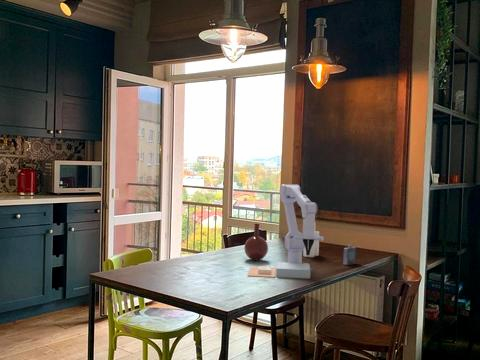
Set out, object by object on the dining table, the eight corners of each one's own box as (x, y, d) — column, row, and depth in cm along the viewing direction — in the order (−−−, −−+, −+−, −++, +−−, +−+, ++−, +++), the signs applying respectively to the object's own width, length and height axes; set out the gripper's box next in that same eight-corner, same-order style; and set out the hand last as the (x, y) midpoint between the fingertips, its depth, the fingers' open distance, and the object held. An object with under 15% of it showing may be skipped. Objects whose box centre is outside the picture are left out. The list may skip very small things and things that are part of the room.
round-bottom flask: (252, 256, 275) (253, 222, 274) (272, 259, 268) (273, 224, 267) (239, 260, 264) (240, 224, 263) (259, 263, 257) (260, 226, 256)
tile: (271, 266, 239) (270, 270, 239) (258, 265, 239) (258, 269, 239) (270, 270, 231) (270, 274, 231) (258, 269, 231) (257, 273, 232)
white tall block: (311, 257, 277) (312, 223, 276) (300, 256, 281) (301, 222, 280) (319, 254, 287) (321, 221, 286) (308, 253, 291) (310, 220, 290)
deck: (276, 269, 242) (277, 262, 242) (308, 271, 241) (309, 263, 241) (276, 276, 227) (276, 268, 227) (310, 278, 226) (310, 270, 226)
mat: (250, 268, 245) (250, 267, 245) (275, 269, 244) (275, 268, 244) (247, 276, 227) (247, 275, 227) (275, 277, 226) (275, 276, 226)
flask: (345, 265, 258) (346, 245, 258) (341, 264, 260) (342, 244, 260) (356, 263, 264) (357, 244, 264) (352, 262, 266) (352, 243, 266)
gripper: (294, 227, 231) (293, 255, 232) (324, 228, 230) (323, 257, 231) (293, 225, 238) (292, 252, 239) (323, 226, 237) (322, 254, 238)
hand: (307, 254), depth 235 cm, fingers closed
